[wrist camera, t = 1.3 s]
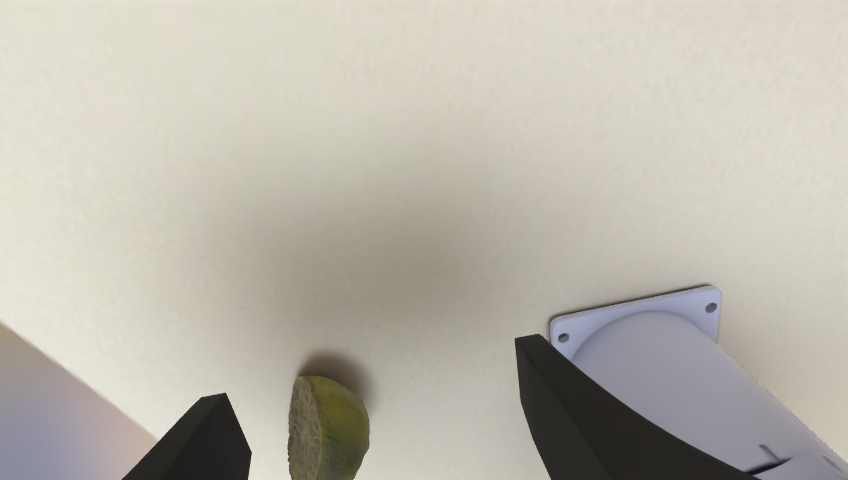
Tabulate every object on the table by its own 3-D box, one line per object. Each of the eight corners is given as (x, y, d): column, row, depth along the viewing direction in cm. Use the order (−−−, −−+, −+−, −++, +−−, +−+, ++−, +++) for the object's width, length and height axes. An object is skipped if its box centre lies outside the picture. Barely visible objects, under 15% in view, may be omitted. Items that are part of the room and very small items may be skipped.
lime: (302, 444, 24) (285, 542, 19) (258, 373, 22) (228, 463, 17) (386, 417, 24) (389, 509, 19) (349, 342, 22) (343, 425, 17)
